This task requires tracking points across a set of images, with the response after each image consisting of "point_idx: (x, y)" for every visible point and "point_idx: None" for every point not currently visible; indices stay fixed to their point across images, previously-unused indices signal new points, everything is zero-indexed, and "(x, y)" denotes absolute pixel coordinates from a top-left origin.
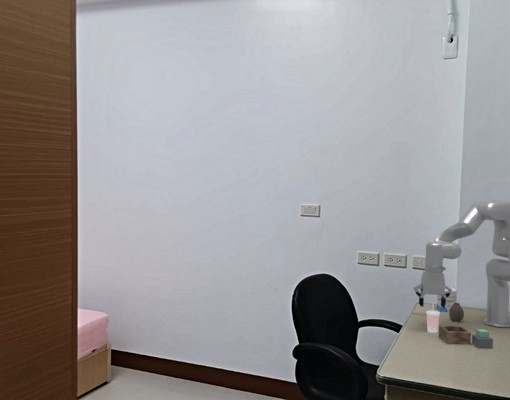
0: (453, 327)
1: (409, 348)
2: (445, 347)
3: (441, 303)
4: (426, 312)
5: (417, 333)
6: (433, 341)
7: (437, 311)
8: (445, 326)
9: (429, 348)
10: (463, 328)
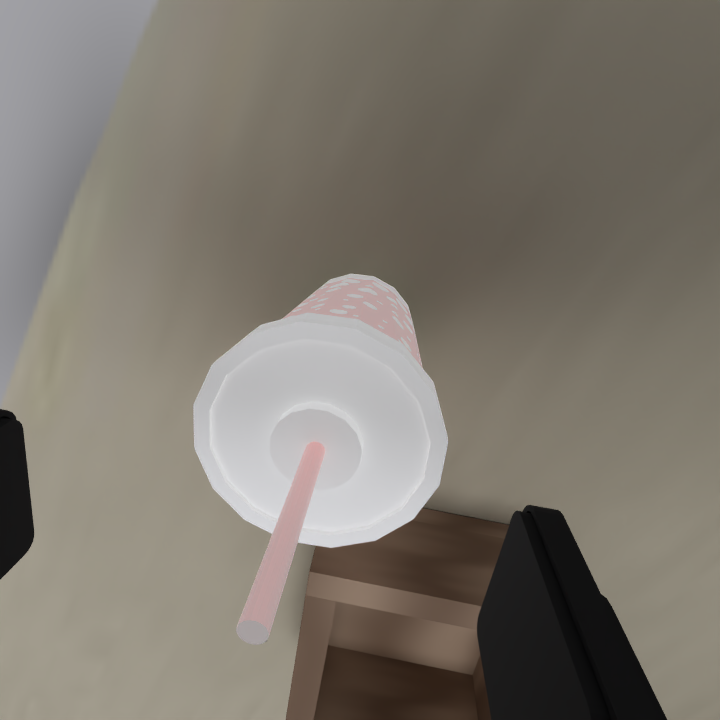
0: (458, 617)
1: (8, 656)
2: (258, 685)
3: (519, 602)
4: (197, 419)
5: (165, 372)
6: (226, 578)
7: (428, 422)
8: (369, 606)
9: (140, 679)
10: None
